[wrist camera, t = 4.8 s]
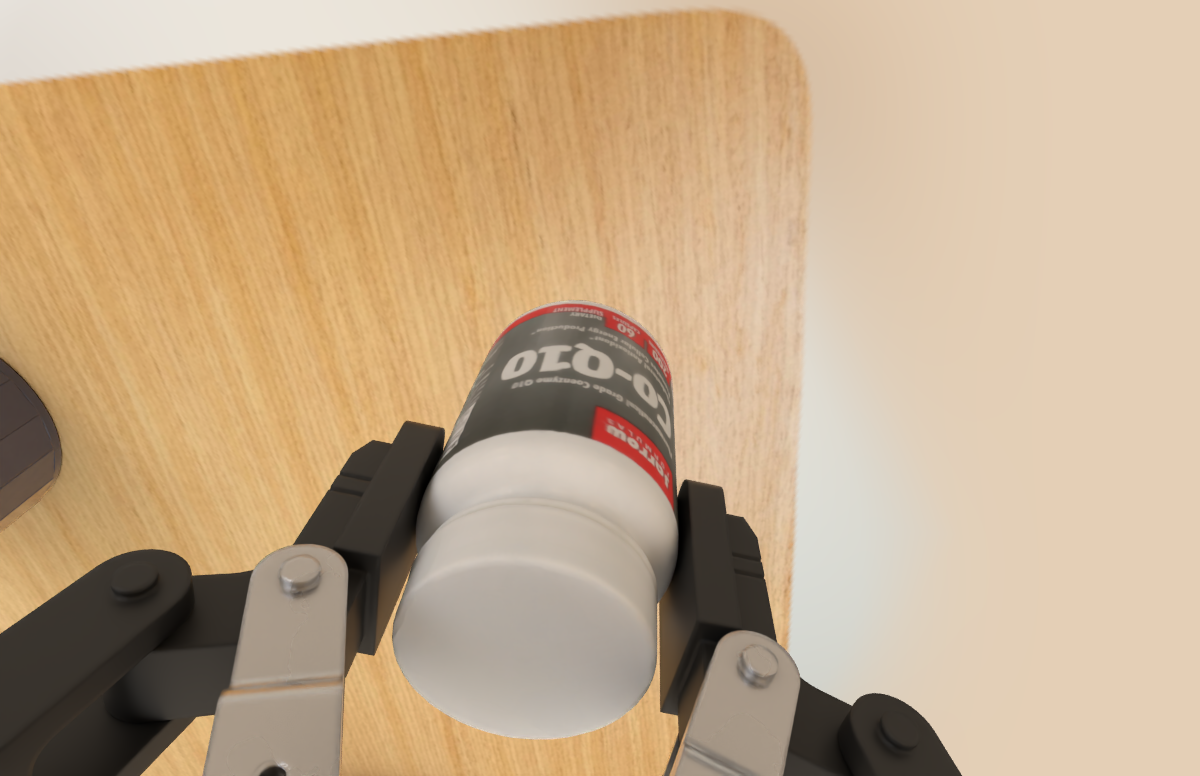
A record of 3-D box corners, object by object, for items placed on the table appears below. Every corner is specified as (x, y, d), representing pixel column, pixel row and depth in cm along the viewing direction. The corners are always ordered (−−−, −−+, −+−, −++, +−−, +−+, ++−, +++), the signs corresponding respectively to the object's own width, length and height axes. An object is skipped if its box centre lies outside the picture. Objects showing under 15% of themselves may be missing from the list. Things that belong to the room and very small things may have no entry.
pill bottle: (700, 330, 17) (740, 594, 9) (635, 478, 19) (626, 782, 12) (509, 268, 16) (395, 496, 9) (467, 428, 18) (348, 713, 11)
